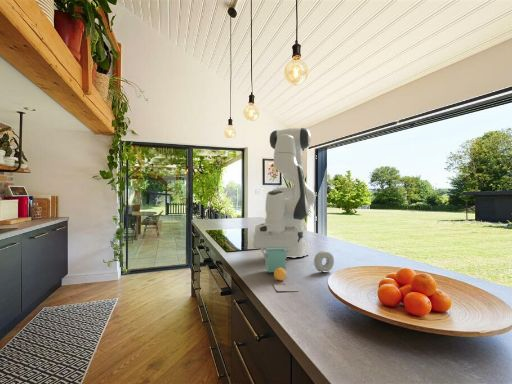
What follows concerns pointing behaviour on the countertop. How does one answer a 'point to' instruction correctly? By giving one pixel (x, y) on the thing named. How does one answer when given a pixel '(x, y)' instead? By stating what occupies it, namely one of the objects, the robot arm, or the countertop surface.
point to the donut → (328, 263)
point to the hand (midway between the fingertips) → (275, 257)
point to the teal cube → (275, 259)
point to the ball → (280, 274)
